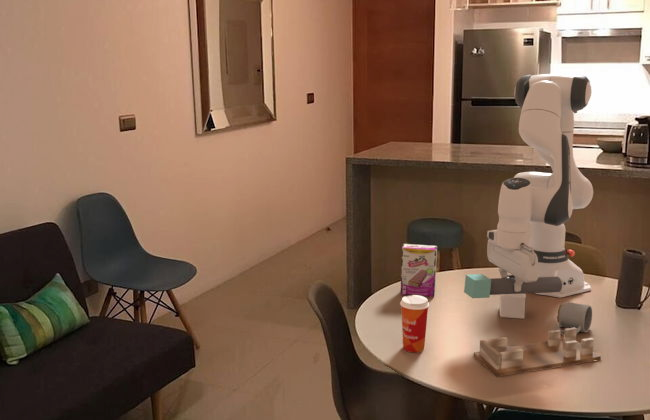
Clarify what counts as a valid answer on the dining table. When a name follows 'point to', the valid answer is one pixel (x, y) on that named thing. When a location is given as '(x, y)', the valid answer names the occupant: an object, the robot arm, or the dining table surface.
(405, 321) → the paper cup
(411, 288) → the candy bar box
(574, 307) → the ceramic mug
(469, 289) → the grey and teal rod
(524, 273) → the robot arm
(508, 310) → the medicine bottle
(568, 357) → the wooden cradle
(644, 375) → the dining table surface
